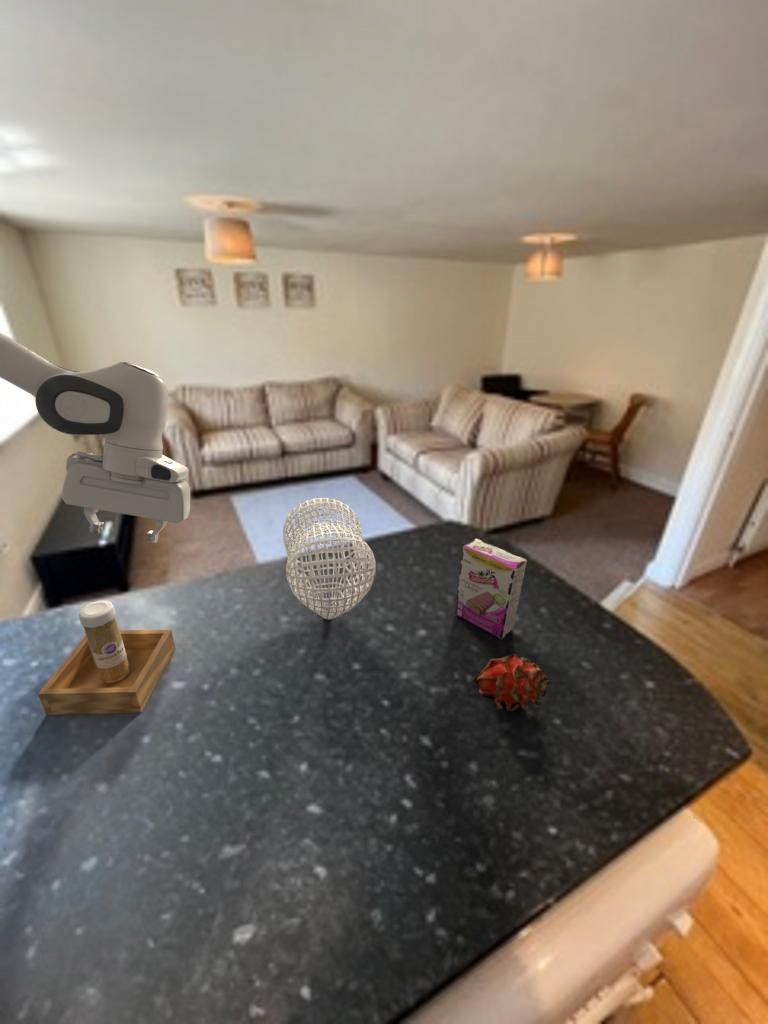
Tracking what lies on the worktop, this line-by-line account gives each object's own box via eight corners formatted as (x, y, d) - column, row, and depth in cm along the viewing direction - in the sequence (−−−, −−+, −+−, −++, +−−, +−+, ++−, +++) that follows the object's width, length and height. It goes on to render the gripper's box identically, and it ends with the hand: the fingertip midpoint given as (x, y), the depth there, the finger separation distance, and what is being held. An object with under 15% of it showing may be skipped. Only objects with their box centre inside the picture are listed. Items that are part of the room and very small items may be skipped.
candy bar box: (453, 615, 91) (461, 545, 84) (467, 605, 95) (475, 537, 88) (501, 642, 84) (514, 568, 77) (514, 630, 88) (528, 558, 81)
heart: (381, 658, 80) (385, 550, 70) (293, 671, 76) (285, 560, 67) (354, 573, 104) (354, 485, 95) (286, 580, 101) (279, 490, 91)
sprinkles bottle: (110, 689, 71) (89, 621, 65) (93, 678, 73) (71, 611, 67) (137, 670, 75) (119, 605, 69) (120, 660, 77) (101, 596, 71)
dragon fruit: (549, 713, 72) (473, 714, 73) (540, 658, 76) (469, 660, 77) (559, 708, 64) (475, 709, 66) (549, 648, 69) (470, 650, 70)
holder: (45, 715, 67) (37, 694, 65) (95, 649, 80) (89, 630, 78) (141, 712, 68) (135, 692, 66) (175, 648, 81) (171, 629, 79)
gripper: (57, 450, 73) (50, 531, 75) (187, 475, 76) (176, 551, 79) (78, 447, 79) (71, 522, 82) (197, 470, 82) (187, 542, 85)
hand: (124, 537), depth 80 cm, fingers open, 8 cm apart
